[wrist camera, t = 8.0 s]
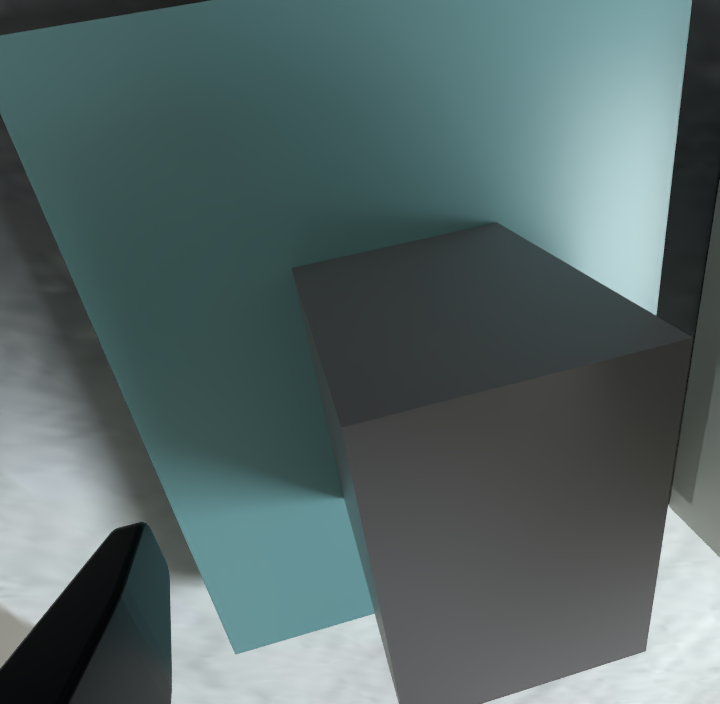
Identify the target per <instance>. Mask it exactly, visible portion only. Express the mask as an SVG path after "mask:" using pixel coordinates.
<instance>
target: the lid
mask: <svg viewBox="0 0 720 704" xmlns="http://www.w3.org/2000/svg"><path fill="white" fill-rule="evenodd" d="M691 6H692V0H211V1H205V2H198V3H192V4H186V5H180V6H174V7H168V8H162V9H156V10H150V11H144V12H138V13H132V14H126V15H120V16H114V17H108V18H102V19H96V20H90V21H84V22H78V23H72V24H66V25H60V26H54V27H48V28H42V29H36V30H30V31H24V32H18V33H12V34H5V35H0V114H1V116H2V119H3V121H4V123H5V126H6V128H7V130H8V133H9V135H10V137H11V139H12V142H13V144H14V146H15V149H16V151H17V153H18V156H19V158H20V160H21V162H22V165H23V167H24V169H25V172H26V174H27V176H28V179H29V181H30V183H31V185H32V188H33V190H34V192H35V195H36V197H37V199H38V202H39V204H40V206H41V208H42V211H43V213H44V215H45V218H46V220H47V222H48V225H49V227H50V229H51V231H52V234H53V236H54V238H55V241H56V243H57V245H58V248H59V250H60V252H61V254H62V257H63V259H64V261H65V264H66V266H67V268H68V271H69V273H70V275H71V277H72V280H73V282H74V284H75V287H76V289H77V291H78V294H79V296H80V298H81V300H82V303H83V305H84V307H85V310H86V312H87V314H88V317H89V319H90V321H91V323H92V326H93V328H94V330H95V333H96V335H97V337H98V340H99V342H100V344H101V346H102V349H103V351H104V353H105V356H106V358H107V360H108V363H109V365H110V367H111V369H112V372H113V374H114V376H115V379H116V381H117V383H118V386H119V388H120V390H121V392H122V395H123V397H124V399H125V402H126V404H127V406H128V409H129V411H130V413H131V415H132V418H133V420H134V422H135V425H136V427H137V429H138V431H139V434H140V436H141V438H142V441H143V443H144V445H145V448H146V450H147V452H148V454H149V457H150V459H151V461H152V464H153V466H154V468H155V471H156V473H157V475H158V477H159V480H160V482H161V484H162V487H163V489H164V491H165V494H166V496H167V498H168V500H169V503H170V505H171V507H172V510H173V512H174V514H175V517H176V519H177V521H178V523H179V526H180V528H181V530H182V533H183V535H184V537H185V540H186V542H187V544H188V546H189V549H190V551H191V553H192V556H193V558H194V560H195V563H196V565H197V567H198V569H199V572H200V574H201V576H202V579H203V581H204V583H205V586H206V588H207V590H208V592H209V595H210V597H211V599H212V602H213V604H214V606H215V609H216V611H217V613H218V615H219V618H220V620H221V622H222V625H223V627H224V629H225V632H226V634H227V636H228V638H229V641H230V643H231V645H232V648H233V650H234V652H235V654H239V653H242V652H246V651H249V650H252V649H256V648H259V647H263V646H266V645H269V644H273V643H276V642H279V641H283V640H286V639H290V638H293V637H296V636H300V635H303V634H307V633H310V632H313V631H317V630H320V629H323V628H327V627H330V626H334V625H337V624H340V623H344V622H347V621H351V620H354V619H357V618H361V617H364V616H368V615H371V614H374V613H375V616H376V620H377V624H378V627H379V631H380V635H381V639H382V642H383V646H384V650H385V653H386V657H387V661H388V665H389V668H390V672H391V676H392V680H393V683H394V687H395V691H396V694H397V698H398V702H399V704H482V703H485V702H488V701H491V700H495V699H498V698H501V697H504V696H507V695H510V694H513V693H516V692H520V691H523V690H526V689H529V688H532V687H535V686H538V685H541V684H545V683H548V682H551V681H554V680H557V679H560V678H563V677H566V676H570V675H573V674H576V673H579V672H582V671H585V670H588V669H591V668H594V667H598V666H601V665H604V664H607V663H610V662H613V661H616V660H619V659H623V658H626V657H629V656H632V655H635V654H638V653H641V652H644V651H646V645H647V639H648V632H649V625H650V619H651V612H652V606H653V599H654V593H655V586H656V579H657V573H658V566H659V560H660V553H661V547H662V540H663V533H664V527H665V520H666V514H667V507H668V501H669V494H670V488H671V481H672V474H673V468H674V461H675V455H676V448H677V442H678V435H679V428H680V422H681V415H682V409H683V402H684V396H685V389H686V383H687V376H688V369H689V363H690V356H691V350H692V343H693V337H691V336H690V335H688V334H686V333H685V332H683V331H681V330H680V329H678V328H676V327H674V326H673V325H671V324H669V323H668V322H666V321H664V320H662V319H661V318H659V317H657V316H656V314H657V306H658V297H659V288H660V279H661V270H662V262H663V253H664V244H665V235H666V226H667V217H668V209H669V200H670V191H671V182H672V173H673V165H674V156H675V147H676V138H677V129H678V120H679V112H680V103H681V94H682V85H683V76H684V68H685V59H686V50H687V41H688V32H689V23H690V15H691Z"/></svg>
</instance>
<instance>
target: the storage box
mask: <svg viewBox="0 0 720 704" xmlns="http://www.w3.org/2000/svg"><path fill="white" fill-rule="evenodd" d="M669 507H670V508H671V509H672V510H673V511H674V512H675V513H676V514H677V515H678V516H679V517H680V518H681V519H682V520H683V521H684V522H685V523H686V524H687V525H688V526H689V527H690V528H691V529H692V530H693V531H694V532H695V533H696V534H697V535H698V536H699V537H700V538H701V539H702V540H703V541H704V542H705V543H706V544H707V545H708V546H709V547H710V548H711V549H712V550H713V551H714V552H715V553H716V554H717V555H718V556H719V557H720V180H719V186H718V193H717V199H716V205H715V212H714V218H713V225H712V231H711V238H710V244H709V251H708V257H707V264H706V270H705V277H704V283H703V290H702V296H701V303H700V309H699V316H698V322H697V329H696V335H695V341H694V348H693V354H692V361H691V367H690V374H689V380H688V387H687V393H686V400H685V406H684V413H683V419H682V426H681V432H680V439H679V445H678V452H677V458H676V465H675V471H674V477H673V484H672V490H671V497H670V503H669Z"/></svg>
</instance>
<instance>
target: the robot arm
mask: <svg viewBox="0 0 720 704" xmlns="http://www.w3.org/2000/svg"><path fill="white" fill-rule="evenodd" d="M171 693H172V660H171V616H170V577H169V570H168V566H167V563H166V560H165V558H164V556H163V554H162V552H161V550H160V547H159V545H158V543H157V541H156V539H155V537H154V535H153V533H152V530H151V529H150V527H149V526H148V525H147V524H146V523H144V522H138V523H135V524H131V525H127V526H123V527H119V528H117V529H115V530H113V531H112V532H111V533H110V534H109V536H108V537H107V538H106V539H105V540H104V542H103V543H102V544H101V545H100V547H99V548H98V549H97V550H96V552H95V553H94V554H93V555H92V556H91V558H90V559H89V560H88V561H87V563H86V564H85V565H84V566H83V568H82V569H81V570H80V571H79V572H78V574H77V575H76V576H75V577H74V579H73V580H72V581H71V582H70V584H69V585H68V586H67V587H66V588H65V590H64V591H63V592H62V593H61V595H60V596H59V597H58V598H57V599H56V601H55V602H54V603H53V604H52V606H51V607H50V608H49V609H48V611H47V612H46V613H45V614H44V615H43V617H42V618H41V619H40V620H39V622H38V623H37V624H36V625H35V627H34V628H33V629H32V630H31V631H30V633H29V634H28V635H27V637H26V638H25V639H24V640H23V641H22V643H21V644H20V645H19V646H18V647H17V649H16V650H15V651H14V652H13V654H12V655H11V656H10V657H9V659H8V660H7V661H6V662H5V664H4V665H3V666H2V667H1V668H0V704H171Z"/></svg>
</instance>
